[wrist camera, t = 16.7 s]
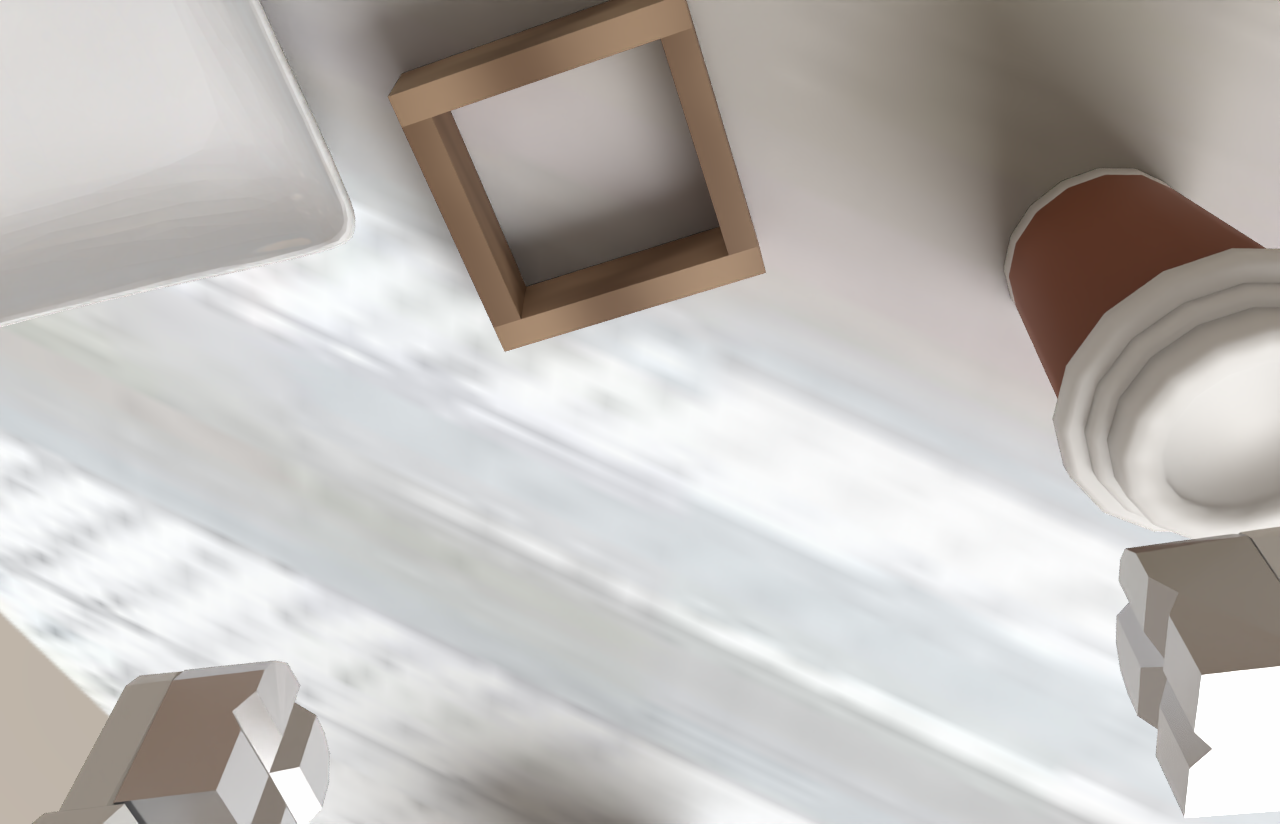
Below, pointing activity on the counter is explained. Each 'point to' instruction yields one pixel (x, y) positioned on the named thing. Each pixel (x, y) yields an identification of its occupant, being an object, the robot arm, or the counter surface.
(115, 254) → the salad plate
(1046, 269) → the coffee cup
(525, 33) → the walnut collar
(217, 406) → the counter surface
